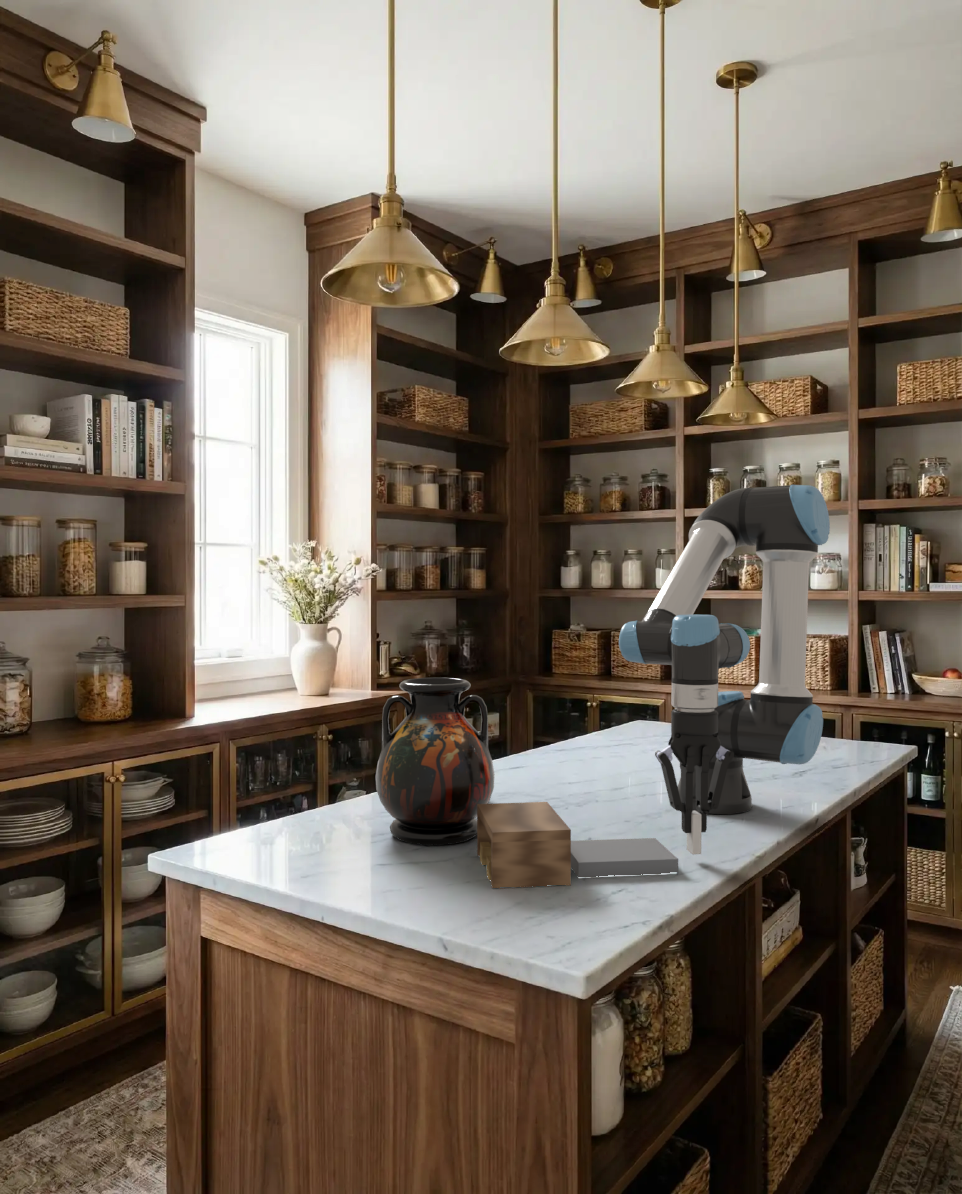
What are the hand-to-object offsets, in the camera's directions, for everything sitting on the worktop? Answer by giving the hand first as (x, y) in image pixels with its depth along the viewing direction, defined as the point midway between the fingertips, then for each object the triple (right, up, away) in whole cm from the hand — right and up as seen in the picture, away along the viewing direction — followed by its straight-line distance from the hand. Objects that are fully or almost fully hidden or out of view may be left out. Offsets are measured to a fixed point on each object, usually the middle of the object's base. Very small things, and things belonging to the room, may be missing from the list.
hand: (693, 851), depth 157 cm
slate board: (-13, -2, -2) cm, 13 cm away
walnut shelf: (-29, -2, -4) cm, 29 cm away
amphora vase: (-43, -2, +16) cm, 46 cm away
